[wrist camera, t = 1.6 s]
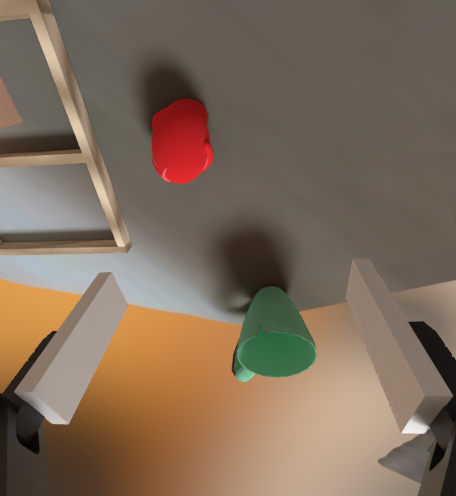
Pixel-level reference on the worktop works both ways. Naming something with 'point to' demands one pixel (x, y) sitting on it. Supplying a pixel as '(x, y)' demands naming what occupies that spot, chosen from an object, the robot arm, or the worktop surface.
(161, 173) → the red rounded oval lump
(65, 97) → the rack
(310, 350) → the mug
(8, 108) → the block
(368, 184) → the worktop surface
